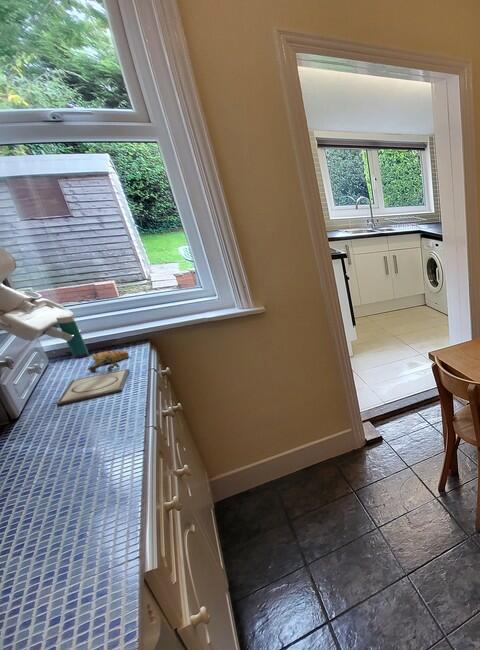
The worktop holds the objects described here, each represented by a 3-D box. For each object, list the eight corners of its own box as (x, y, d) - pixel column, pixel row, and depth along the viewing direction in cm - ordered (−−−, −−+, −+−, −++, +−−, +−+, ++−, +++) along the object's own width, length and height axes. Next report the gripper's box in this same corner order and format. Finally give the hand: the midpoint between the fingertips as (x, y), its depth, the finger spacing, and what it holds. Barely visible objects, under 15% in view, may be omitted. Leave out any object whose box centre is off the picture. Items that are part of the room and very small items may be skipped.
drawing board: (57, 406, 117) (56, 403, 116) (73, 382, 132) (71, 379, 131) (121, 391, 124) (120, 388, 123) (129, 370, 139) (128, 368, 138)
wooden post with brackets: (120, 366, 140) (108, 355, 138) (98, 378, 140) (86, 368, 138) (123, 364, 142) (111, 354, 140) (102, 376, 141) (90, 366, 139)
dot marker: (71, 358, 116) (52, 317, 111) (83, 354, 119) (66, 314, 114) (80, 359, 116) (62, 318, 111) (92, 355, 118) (75, 315, 114)
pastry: (128, 354, 153) (123, 345, 152) (131, 359, 149) (126, 349, 148) (94, 362, 147) (89, 352, 146) (96, 367, 143) (91, 357, 141)
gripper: (-9, 306, 99) (64, 337, 106) (38, 290, 116) (98, 318, 123) (-24, 327, 99) (50, 357, 106) (25, 308, 116) (85, 334, 124)
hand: (76, 336), depth 115 cm, fingers closed on dot marker, 3 cm apart
